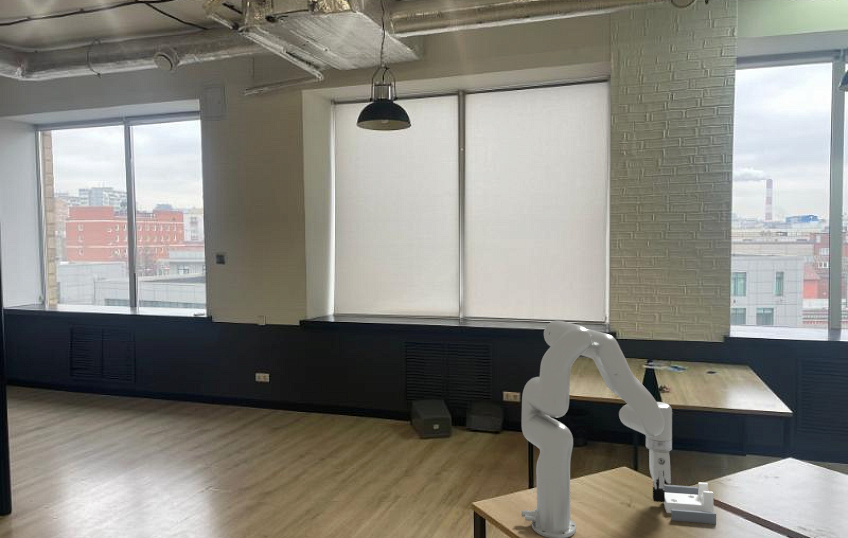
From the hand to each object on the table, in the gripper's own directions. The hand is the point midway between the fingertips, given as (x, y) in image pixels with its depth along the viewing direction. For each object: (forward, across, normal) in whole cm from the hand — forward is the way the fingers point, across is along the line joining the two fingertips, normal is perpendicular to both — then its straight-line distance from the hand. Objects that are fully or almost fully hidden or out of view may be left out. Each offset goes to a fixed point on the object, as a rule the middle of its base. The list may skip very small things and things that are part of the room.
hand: (658, 500), depth 178 cm
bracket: (+2, -1, -8) cm, 8 cm away
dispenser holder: (+2, 0, -9) cm, 9 cm away
